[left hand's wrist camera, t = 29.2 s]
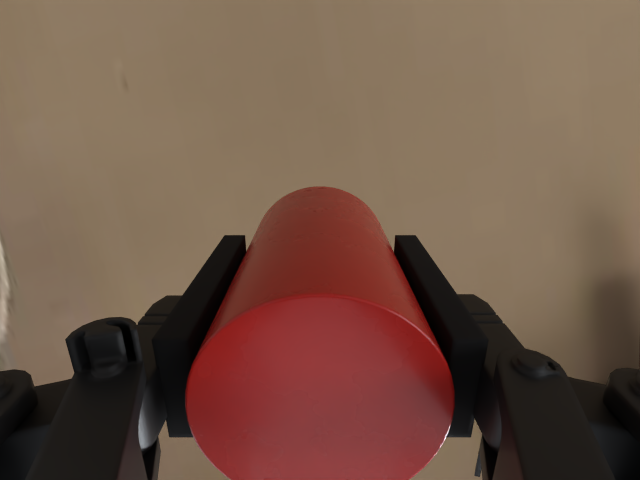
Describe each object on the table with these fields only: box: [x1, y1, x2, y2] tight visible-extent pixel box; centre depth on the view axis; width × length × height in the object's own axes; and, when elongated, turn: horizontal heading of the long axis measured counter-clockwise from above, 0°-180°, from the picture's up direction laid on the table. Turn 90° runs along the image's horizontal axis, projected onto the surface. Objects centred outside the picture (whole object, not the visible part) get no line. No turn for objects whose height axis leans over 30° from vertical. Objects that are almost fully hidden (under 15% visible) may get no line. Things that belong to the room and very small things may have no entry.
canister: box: [185, 187, 455, 480], centre depth 12 cm, size 6×6×9 cm
